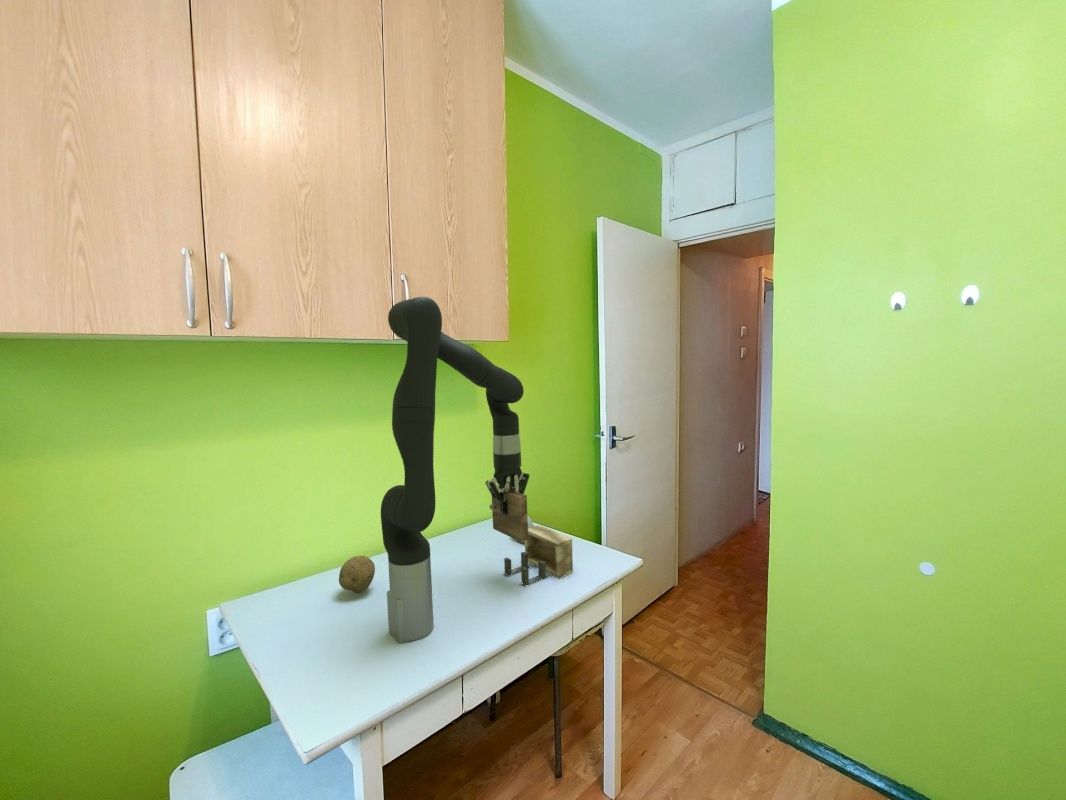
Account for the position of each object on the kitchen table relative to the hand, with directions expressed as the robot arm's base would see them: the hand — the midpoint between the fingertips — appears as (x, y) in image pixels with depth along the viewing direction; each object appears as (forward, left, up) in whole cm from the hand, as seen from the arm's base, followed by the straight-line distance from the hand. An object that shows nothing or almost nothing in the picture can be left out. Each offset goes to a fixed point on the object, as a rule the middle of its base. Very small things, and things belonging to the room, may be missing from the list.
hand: (509, 512), depth 127 cm
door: (0, 0, -6) cm, 6 cm away
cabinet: (+9, 0, -20) cm, 21 cm away
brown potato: (-35, +22, -20) cm, 46 cm away
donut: (+19, +20, -20) cm, 34 cm away
